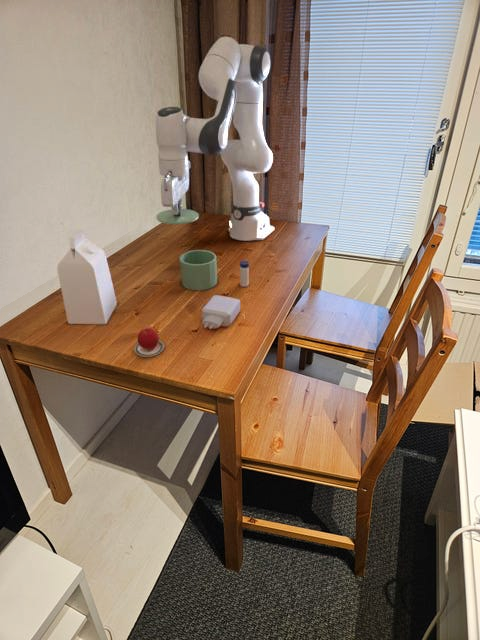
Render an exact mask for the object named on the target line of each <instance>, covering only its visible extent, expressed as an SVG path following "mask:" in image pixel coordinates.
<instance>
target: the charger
mask: <svg viewBox="0 0 480 640" xmlns="http://www.w3.org/2000/svg"><path fill="white" fill-rule="evenodd" d="M240 312H241V300H240V299H238V298H235V297H230V296H224V295H218V294H214V295H213V296H211V298H210V299H209V300H208V301H207V302H206V303H205V305H204V306H203V307H202V309H201V320H202V321H201V324H202V325H203V326H204V327H203V328H204V329H206V328H209V330H212V329H218V328H220V327H230V326H231V325H232V323H233V322H234V320H235V319H236V317H238V314H239V313H240Z"/></svg>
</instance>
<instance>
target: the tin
mask: <svg viewBox="0 0 480 640" xmlns="http://www.w3.org/2000/svg"><path fill="white" fill-rule="evenodd" d="M179 267H180V268H179V269H180V279H181V285H182V286H183V287H184V288H185V289H187V290H191V291H192V290H193V291H206V290H209V289H212V288H214V287H215V286H216V285H217V284H218V259H217V254H215V253H214V252H213V251H211V250H206V249H193V250H189V251H186V252H184V253H182V254H181V255H180V256H179Z"/></svg>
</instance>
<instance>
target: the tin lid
mask: <svg viewBox="0 0 480 640" xmlns="http://www.w3.org/2000/svg"><path fill="white" fill-rule="evenodd" d="M177 205H178V208H179V213H178V215H173V214H172V208H171V209H165V210H163V211H160V212H159V213H156V216H155V217H156V220H157V221H158V222H159V223H162V224H166V225H185V224H190V223H193V222H195V221H197V220H198V219H199V217H200V214H199V213H198V212H197V211H195V210H192V209H187V208H182V210H181V205H180V204H177Z"/></svg>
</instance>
